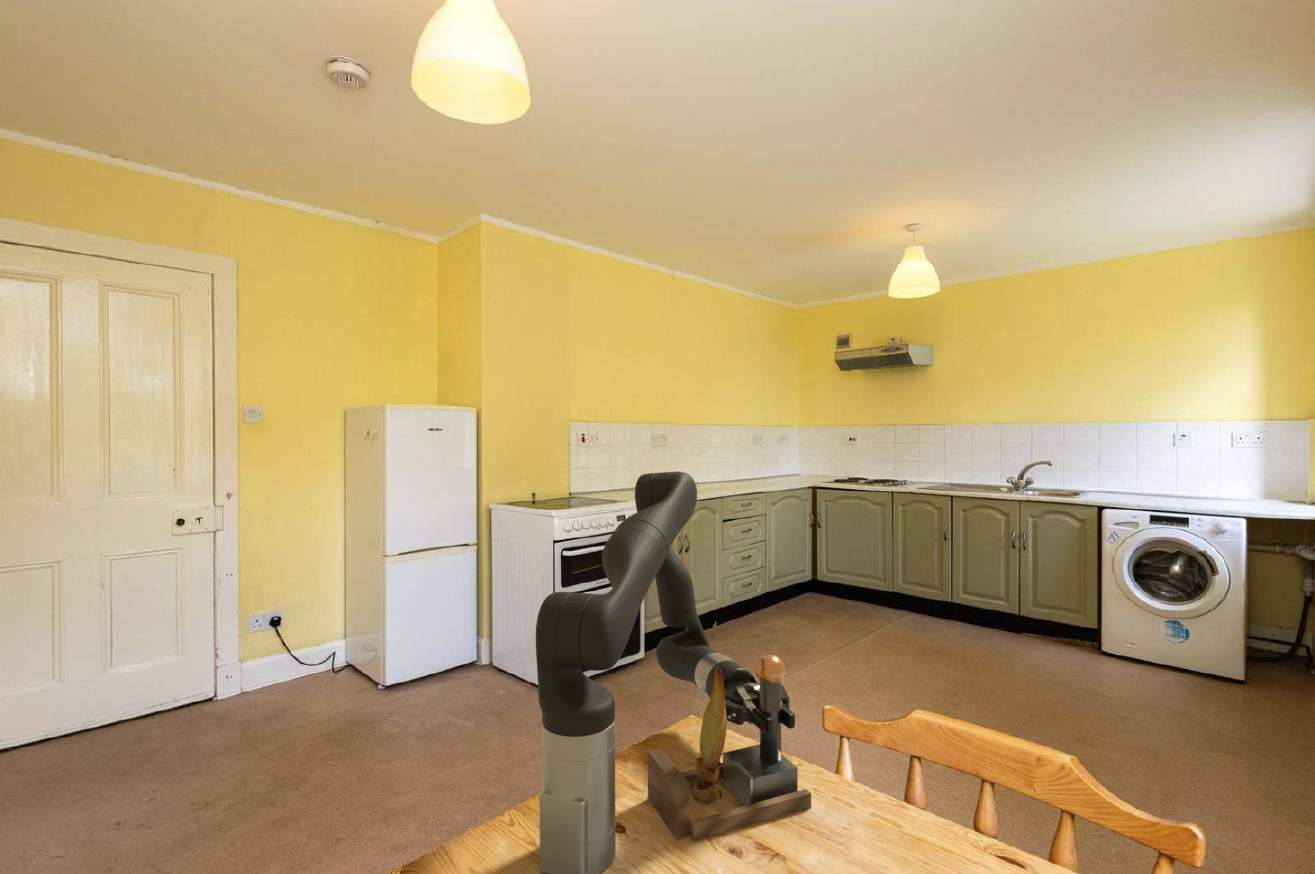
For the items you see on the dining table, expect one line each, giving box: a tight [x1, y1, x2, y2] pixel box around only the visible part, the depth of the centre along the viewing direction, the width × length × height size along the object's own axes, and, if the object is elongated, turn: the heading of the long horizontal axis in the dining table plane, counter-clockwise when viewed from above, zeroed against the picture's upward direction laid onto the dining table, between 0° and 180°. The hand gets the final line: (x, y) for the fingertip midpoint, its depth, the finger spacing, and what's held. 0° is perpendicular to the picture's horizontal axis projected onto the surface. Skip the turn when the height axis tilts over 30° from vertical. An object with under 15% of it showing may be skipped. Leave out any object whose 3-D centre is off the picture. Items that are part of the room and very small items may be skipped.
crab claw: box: [690, 666, 728, 805], centre depth 89 cm, size 7×5×20 cm
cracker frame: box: [647, 748, 812, 842], centre depth 90 cm, size 21×12×7 cm, turn 113°
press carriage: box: [722, 653, 799, 806], centre depth 93 cm, size 8×8×20 cm
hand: (781, 724), depth 91 cm, fingers closed on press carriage, 3 cm apart
